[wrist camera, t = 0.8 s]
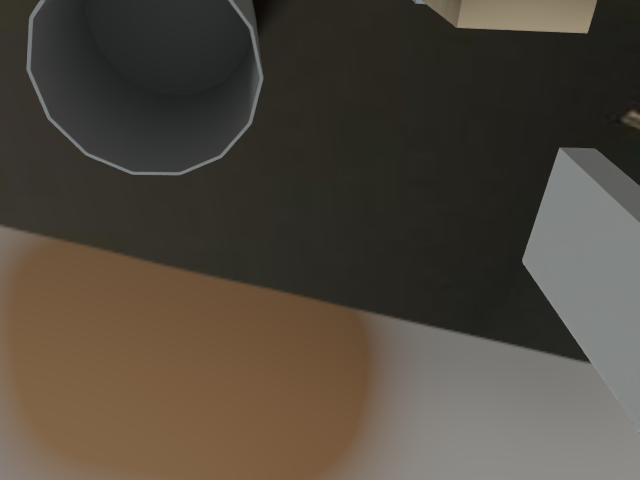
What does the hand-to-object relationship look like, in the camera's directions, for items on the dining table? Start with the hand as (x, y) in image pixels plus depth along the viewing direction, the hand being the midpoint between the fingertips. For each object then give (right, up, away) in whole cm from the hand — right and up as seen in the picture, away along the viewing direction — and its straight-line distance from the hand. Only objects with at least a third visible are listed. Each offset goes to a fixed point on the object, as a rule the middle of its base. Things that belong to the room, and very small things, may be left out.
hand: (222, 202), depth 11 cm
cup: (-6, +11, +19) cm, 23 cm away
